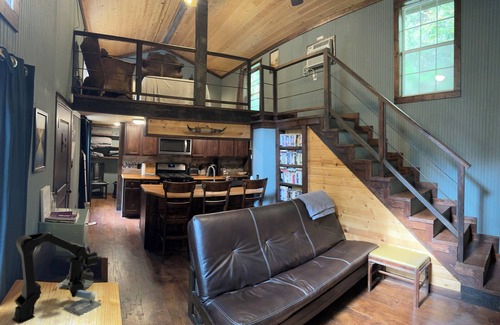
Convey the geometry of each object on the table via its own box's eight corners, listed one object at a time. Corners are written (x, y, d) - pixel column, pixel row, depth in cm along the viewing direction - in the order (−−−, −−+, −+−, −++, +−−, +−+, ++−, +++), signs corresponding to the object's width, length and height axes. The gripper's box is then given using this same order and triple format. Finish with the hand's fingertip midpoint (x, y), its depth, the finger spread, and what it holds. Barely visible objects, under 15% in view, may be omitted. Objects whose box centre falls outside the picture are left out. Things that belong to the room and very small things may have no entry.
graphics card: (55, 284, 165) (69, 276, 177) (54, 291, 165) (68, 282, 177) (83, 288, 164) (95, 279, 176) (82, 294, 164) (94, 285, 176)
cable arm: (70, 296, 155) (71, 290, 155) (75, 294, 158) (75, 288, 158) (92, 300, 153) (93, 294, 153) (96, 298, 156) (96, 291, 156)
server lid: (80, 315, 142) (80, 311, 142) (64, 308, 147) (64, 304, 147) (101, 305, 153) (101, 301, 153) (85, 299, 158) (85, 295, 158)
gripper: (96, 271, 151) (93, 301, 151) (90, 260, 166) (87, 287, 165) (71, 275, 144) (68, 306, 144) (67, 263, 159) (65, 291, 159)
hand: (73, 297), depth 153 cm, fingers closed
